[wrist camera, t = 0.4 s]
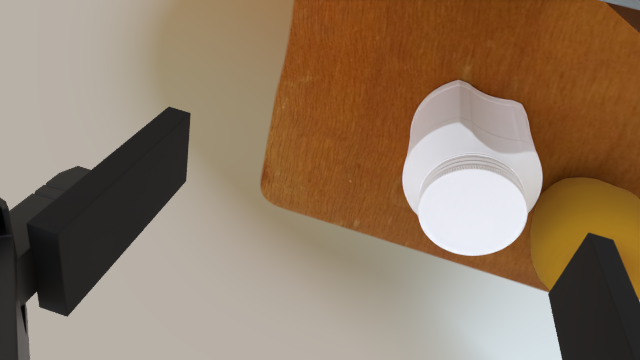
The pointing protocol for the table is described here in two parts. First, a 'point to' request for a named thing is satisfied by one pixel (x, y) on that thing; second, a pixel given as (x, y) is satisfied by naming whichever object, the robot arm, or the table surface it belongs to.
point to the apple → (583, 225)
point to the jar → (471, 169)
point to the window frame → (627, 10)
